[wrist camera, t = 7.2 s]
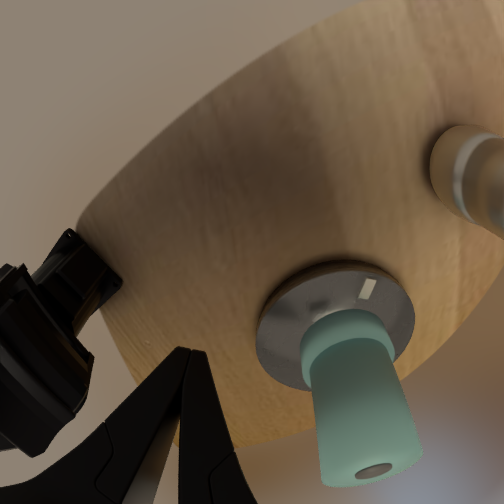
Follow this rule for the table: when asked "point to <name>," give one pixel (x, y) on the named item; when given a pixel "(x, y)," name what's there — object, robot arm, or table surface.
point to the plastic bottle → (471, 175)
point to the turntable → (321, 304)
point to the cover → (357, 400)
